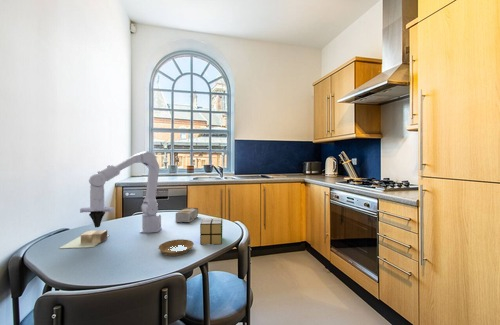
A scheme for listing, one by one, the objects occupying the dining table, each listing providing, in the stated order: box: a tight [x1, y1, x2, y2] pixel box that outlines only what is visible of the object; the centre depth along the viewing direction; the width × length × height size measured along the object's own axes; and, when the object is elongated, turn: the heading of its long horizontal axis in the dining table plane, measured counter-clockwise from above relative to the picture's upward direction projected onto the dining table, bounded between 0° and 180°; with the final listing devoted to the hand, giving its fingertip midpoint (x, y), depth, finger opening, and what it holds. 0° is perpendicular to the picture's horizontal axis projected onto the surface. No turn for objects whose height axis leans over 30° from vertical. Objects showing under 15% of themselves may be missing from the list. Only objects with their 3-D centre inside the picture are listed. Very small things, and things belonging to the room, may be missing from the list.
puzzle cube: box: [199, 217, 223, 246], centre depth 113 cm, size 10×10×10 cm
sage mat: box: [58, 234, 111, 250], centre depth 111 cm, size 14×16×1 cm
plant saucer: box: [158, 238, 195, 257], centre depth 101 cm, size 15×15×3 cm
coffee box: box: [174, 207, 199, 223], centre depth 151 cm, size 9×6×16 cm
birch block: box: [80, 229, 108, 244], centre depth 112 cm, size 4×6×9 cm
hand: (97, 226), depth 112 cm, fingers closed
